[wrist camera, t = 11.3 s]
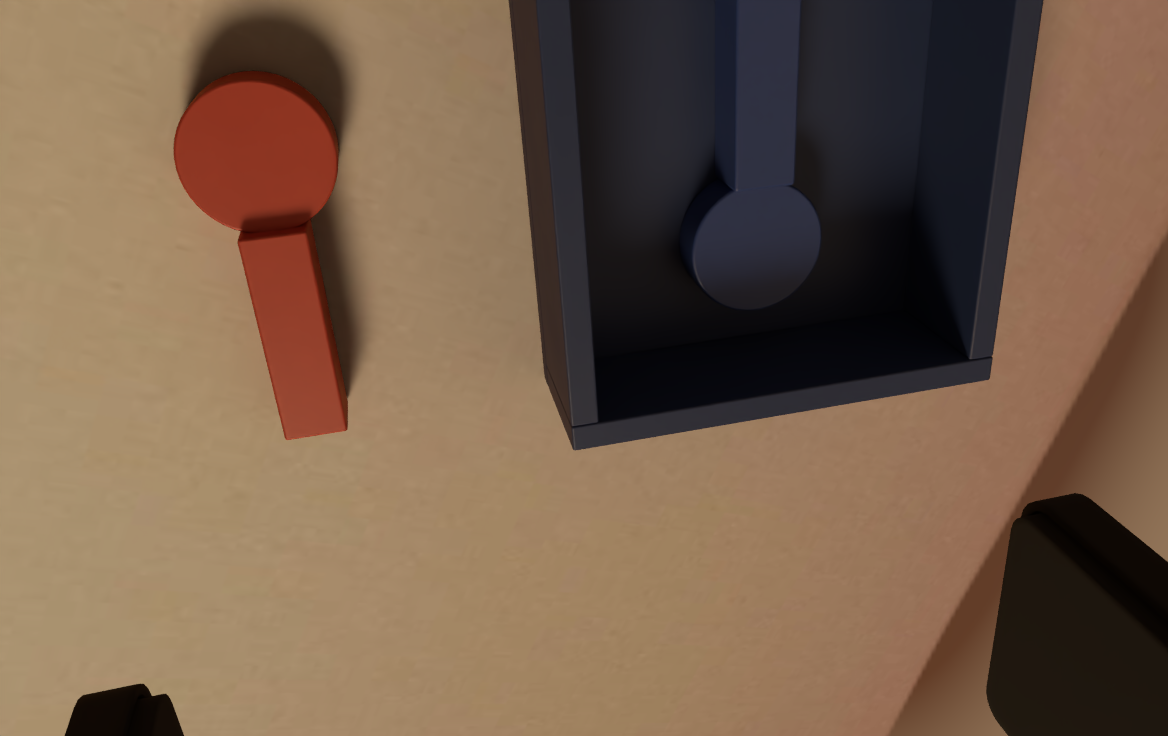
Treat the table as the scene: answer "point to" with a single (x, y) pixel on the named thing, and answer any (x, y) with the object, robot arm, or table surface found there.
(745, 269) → the navy spoon
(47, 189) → the table surface
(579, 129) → the navy bin
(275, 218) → the brick-red spoon
